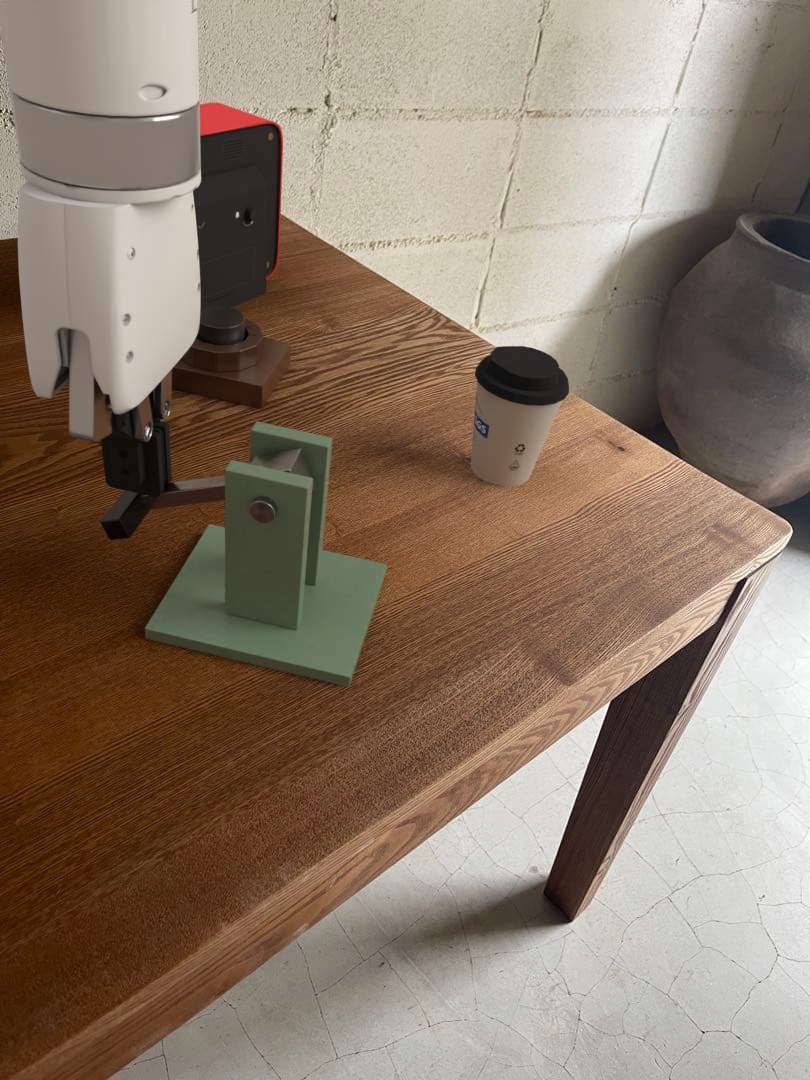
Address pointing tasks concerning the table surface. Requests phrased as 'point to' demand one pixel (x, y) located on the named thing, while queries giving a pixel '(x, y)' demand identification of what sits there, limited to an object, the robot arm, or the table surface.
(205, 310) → the button
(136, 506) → the lever
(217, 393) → the button box
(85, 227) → the robot arm
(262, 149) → the alarm clock
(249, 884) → the table surface
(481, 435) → the coffee cup
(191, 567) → the bracket
